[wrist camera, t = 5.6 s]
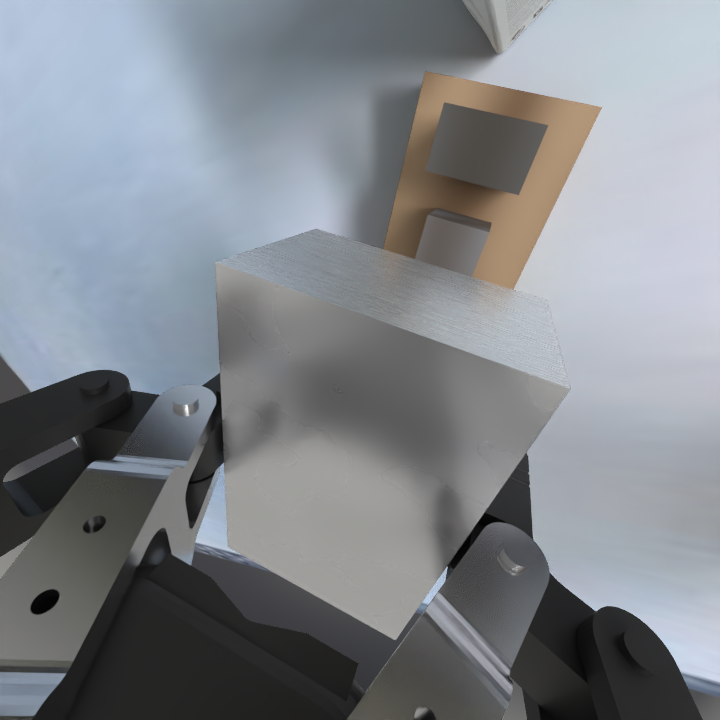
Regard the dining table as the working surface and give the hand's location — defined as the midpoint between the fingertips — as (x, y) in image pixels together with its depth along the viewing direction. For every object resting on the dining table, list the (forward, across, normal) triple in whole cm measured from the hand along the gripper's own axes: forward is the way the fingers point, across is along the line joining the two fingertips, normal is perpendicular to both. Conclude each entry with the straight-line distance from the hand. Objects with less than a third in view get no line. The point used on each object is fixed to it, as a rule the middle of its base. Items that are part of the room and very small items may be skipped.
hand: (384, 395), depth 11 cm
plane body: (+15, 0, +2) cm, 15 cm away
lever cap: (-1, 0, 0) cm, 1 cm away
